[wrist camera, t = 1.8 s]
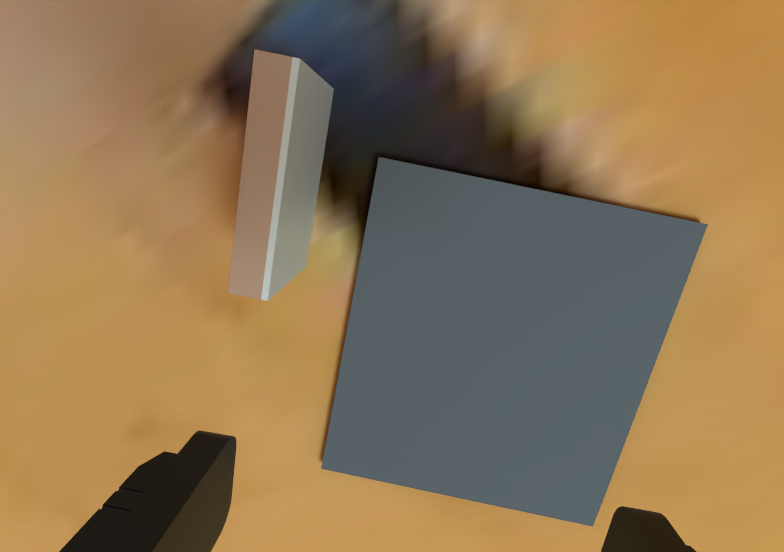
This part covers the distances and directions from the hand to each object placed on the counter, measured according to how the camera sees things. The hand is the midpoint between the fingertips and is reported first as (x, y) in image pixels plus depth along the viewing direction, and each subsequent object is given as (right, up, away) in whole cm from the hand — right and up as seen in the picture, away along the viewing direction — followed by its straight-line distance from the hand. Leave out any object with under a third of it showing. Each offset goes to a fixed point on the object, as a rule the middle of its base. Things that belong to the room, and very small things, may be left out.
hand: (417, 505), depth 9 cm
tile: (-5, +10, +16) cm, 20 cm away
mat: (+6, 0, +18) cm, 18 cm away
